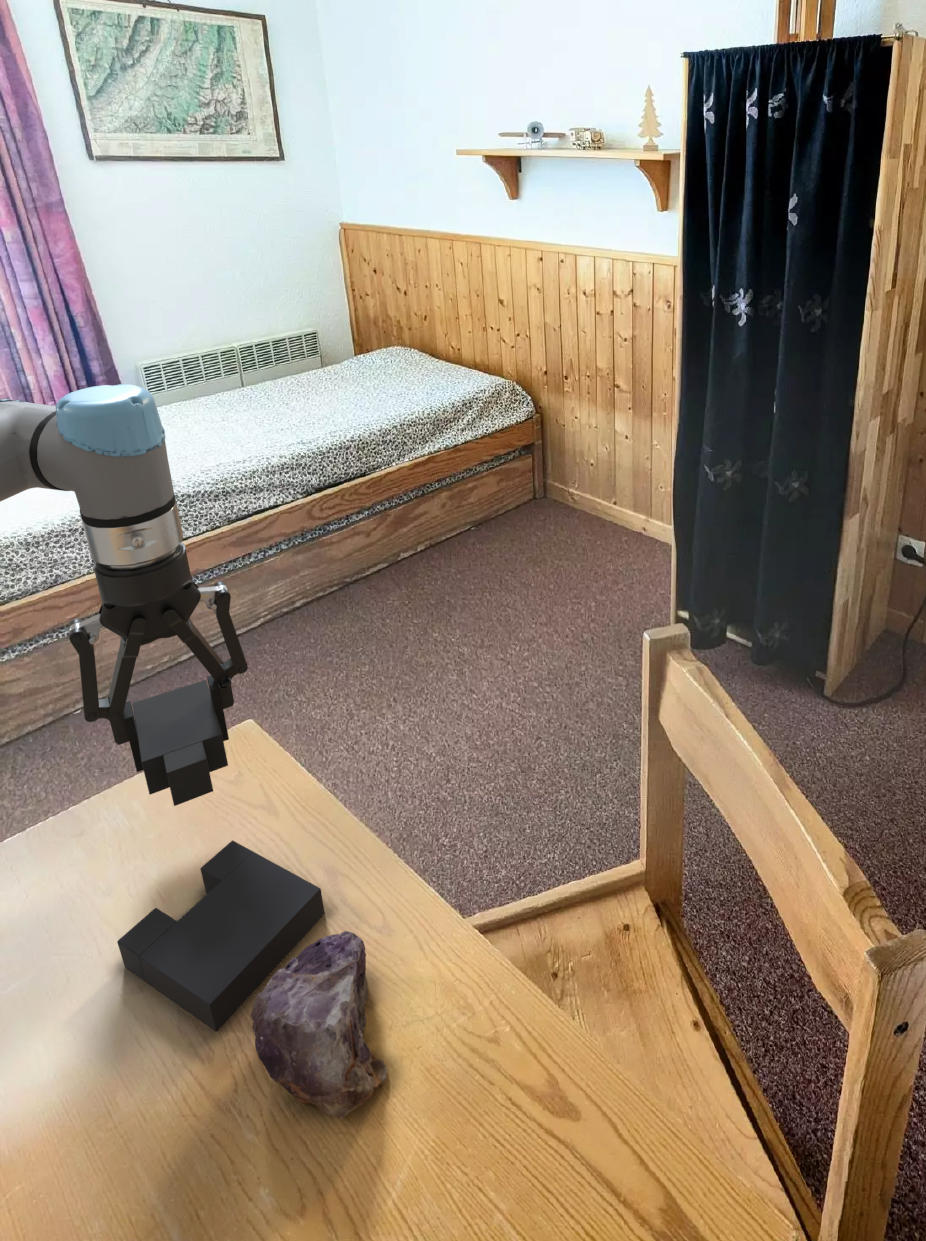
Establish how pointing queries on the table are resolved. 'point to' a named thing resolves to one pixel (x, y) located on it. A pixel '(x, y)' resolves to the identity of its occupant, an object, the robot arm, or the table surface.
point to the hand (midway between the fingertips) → (182, 747)
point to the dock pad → (224, 935)
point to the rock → (319, 1027)
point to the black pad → (180, 741)
